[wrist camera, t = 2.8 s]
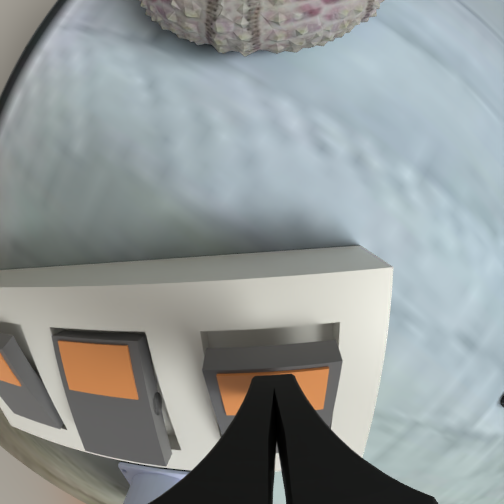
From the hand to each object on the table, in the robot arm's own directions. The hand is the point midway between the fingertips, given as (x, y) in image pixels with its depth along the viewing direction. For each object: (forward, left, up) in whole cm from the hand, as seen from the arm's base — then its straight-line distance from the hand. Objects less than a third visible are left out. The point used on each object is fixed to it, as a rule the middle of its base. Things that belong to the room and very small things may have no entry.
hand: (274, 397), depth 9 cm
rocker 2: (-3, 0, -2) cm, 3 cm away
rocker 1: (-3, +16, -2) cm, 16 cm away
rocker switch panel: (-3, +8, -7) cm, 11 cm away
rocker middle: (-3, +8, -2) cm, 9 cm away
